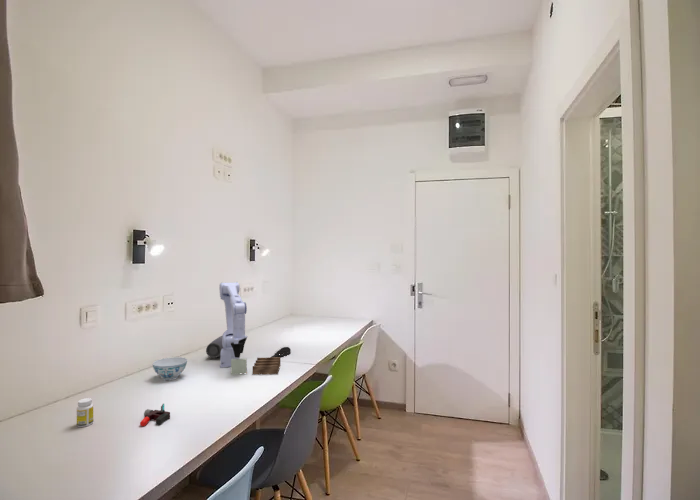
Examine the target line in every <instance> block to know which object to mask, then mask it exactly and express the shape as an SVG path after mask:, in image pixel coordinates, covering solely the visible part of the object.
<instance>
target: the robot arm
mask: <svg viewBox="0 0 700 500" xmlns="http://www.w3.org/2000/svg"><path fill="white" fill-rule="evenodd" d="M240 289H241V288H240V283H239V282H238V281H236V282H235V281H234V282H220V283H219V297H220V300H222V301H223V303H224V308H225V309H224V311H225V318H226V319H225V320H226V321H225V322H226V330H225V331H224V332H223V333H222V334H221V336H222V346H223V348H222V349H221V354H220V357H219V358H220V359H219V363H220V365H219V367H220V368H231V360H232V359H241V354H244V348H245V345H246V341H247V339H248V335H246V314H247V311H248V310H247V303H246V302H245V301H244V300H243V299H242V297H241V295H240Z"/></svg>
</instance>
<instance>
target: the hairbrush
mask: <svg viewBox="0 0 700 500" xmlns="http://www.w3.org/2000/svg"><path fill="white" fill-rule="evenodd" d="M291 351H292V350H291V348H290V346H289V345H287V346H282V347H280V348H279V349H277V350H276V351H275V352H274V353H273V355H271V356H270V357H280V358H285V357H287V355H288V356H290V354H291ZM279 354H280V355H279ZM284 356H285V357H284Z"/></svg>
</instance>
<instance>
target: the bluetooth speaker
mask: <svg viewBox="0 0 700 500" xmlns="http://www.w3.org/2000/svg"><path fill="white" fill-rule="evenodd" d="M222 348H223V346H222V335H221V336H218V337H217V338H216V339H213V341H211V342H210V343H209V344H208V345H207V346H206V348H205V349H206V350H205V352H206V354H207V355H206V356H208V357H209V358H212V359H216V358H220V354H221V349H222Z"/></svg>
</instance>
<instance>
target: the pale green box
mask: <svg viewBox="0 0 700 500" xmlns="http://www.w3.org/2000/svg"><path fill="white" fill-rule="evenodd" d="M247 360H248V359H247V358H240V359H232V360H231V367H230V375H241V374H240V373H246V372H247V365H248V364H247ZM246 374H247V373H246Z"/></svg>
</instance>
